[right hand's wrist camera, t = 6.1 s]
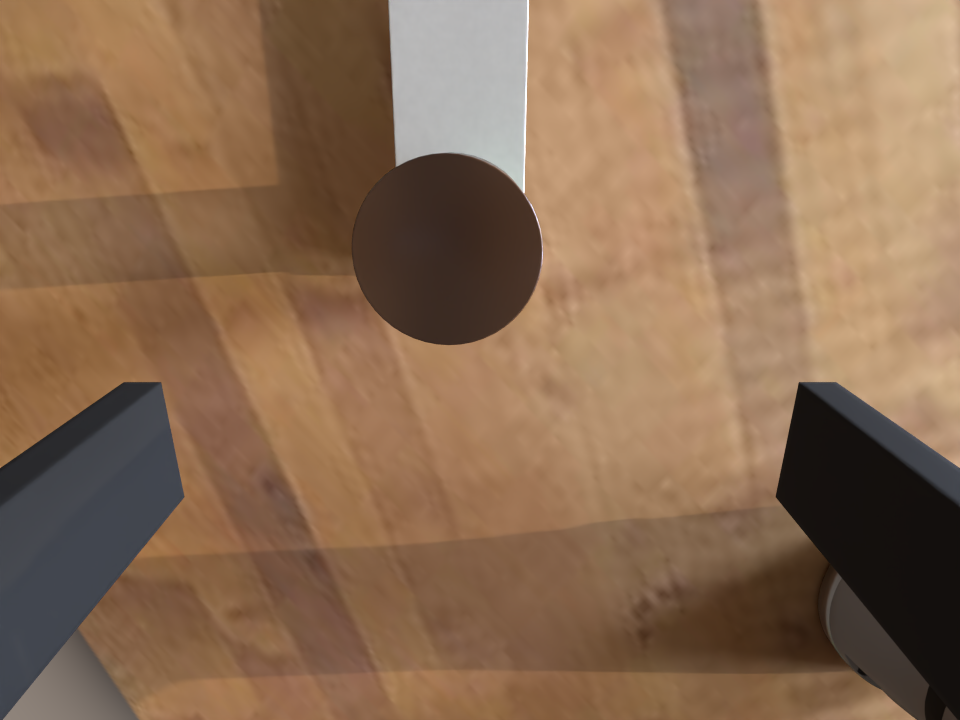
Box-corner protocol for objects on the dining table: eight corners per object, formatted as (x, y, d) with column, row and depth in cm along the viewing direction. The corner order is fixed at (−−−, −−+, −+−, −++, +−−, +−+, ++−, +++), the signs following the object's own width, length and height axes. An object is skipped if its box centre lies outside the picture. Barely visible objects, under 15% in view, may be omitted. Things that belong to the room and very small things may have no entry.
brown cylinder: (538, 152, 25) (546, 152, 21) (533, 321, 27) (539, 345, 24) (363, 152, 25) (344, 153, 21) (373, 321, 27) (358, 345, 24)
